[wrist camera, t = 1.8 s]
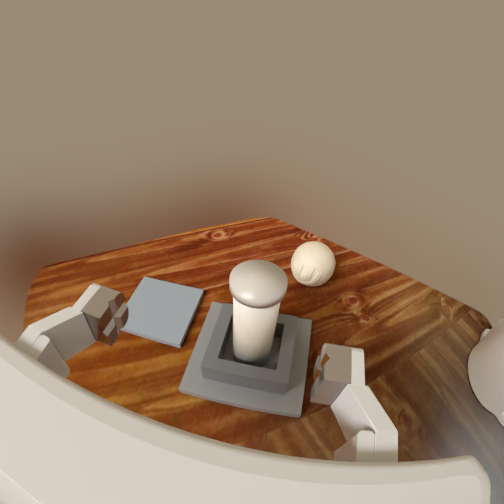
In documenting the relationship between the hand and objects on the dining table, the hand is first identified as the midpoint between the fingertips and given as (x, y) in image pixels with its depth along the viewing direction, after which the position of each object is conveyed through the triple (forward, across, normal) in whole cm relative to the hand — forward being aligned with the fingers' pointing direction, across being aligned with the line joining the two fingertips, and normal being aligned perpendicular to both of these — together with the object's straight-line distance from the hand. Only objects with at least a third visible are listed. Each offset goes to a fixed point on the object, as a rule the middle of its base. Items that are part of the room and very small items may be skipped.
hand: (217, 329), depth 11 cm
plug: (+14, 0, +21) cm, 25 cm away
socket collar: (+14, 0, +22) cm, 26 cm away
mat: (+18, +14, +23) cm, 32 cm away
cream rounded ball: (+30, -6, +21) cm, 37 cm away
